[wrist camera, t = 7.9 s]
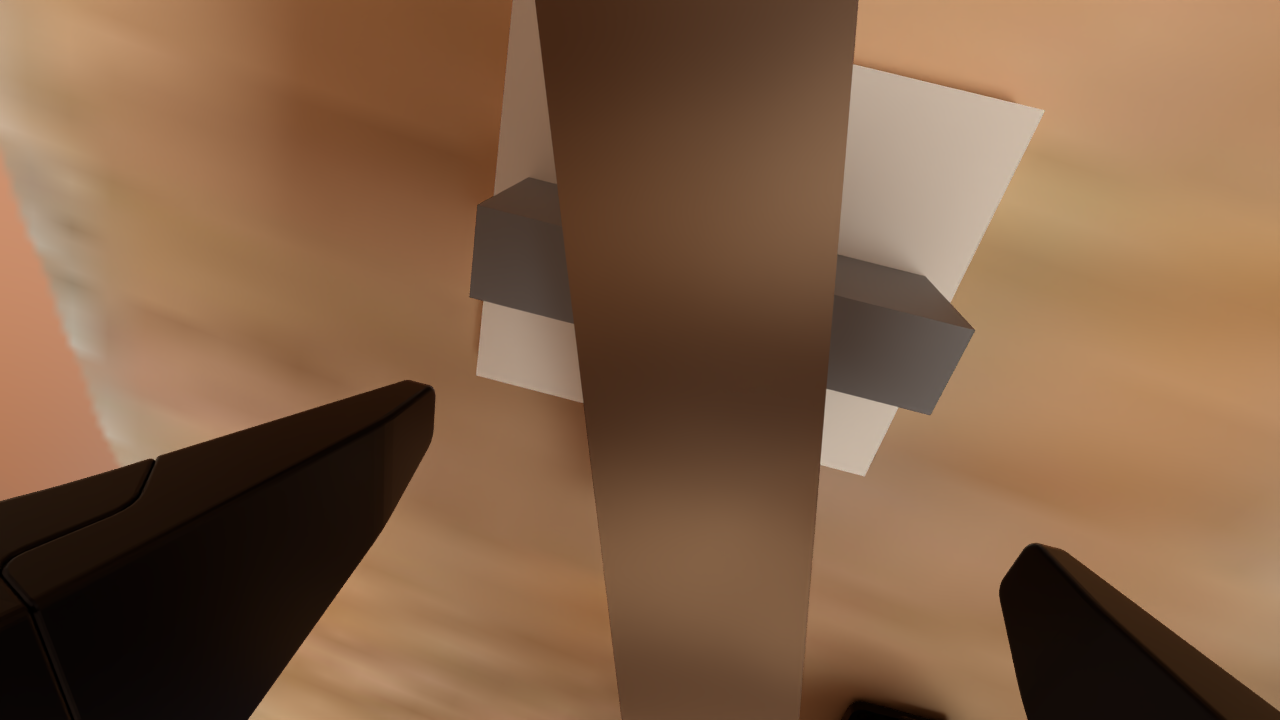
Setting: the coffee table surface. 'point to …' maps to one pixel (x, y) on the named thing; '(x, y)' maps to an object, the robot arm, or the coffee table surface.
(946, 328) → the fulcrum
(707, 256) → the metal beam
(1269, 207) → the coffee table surface
